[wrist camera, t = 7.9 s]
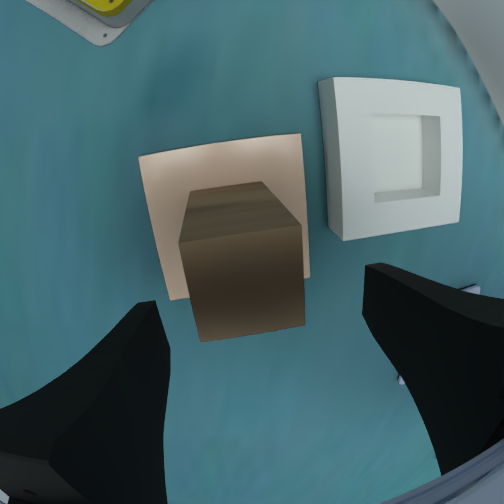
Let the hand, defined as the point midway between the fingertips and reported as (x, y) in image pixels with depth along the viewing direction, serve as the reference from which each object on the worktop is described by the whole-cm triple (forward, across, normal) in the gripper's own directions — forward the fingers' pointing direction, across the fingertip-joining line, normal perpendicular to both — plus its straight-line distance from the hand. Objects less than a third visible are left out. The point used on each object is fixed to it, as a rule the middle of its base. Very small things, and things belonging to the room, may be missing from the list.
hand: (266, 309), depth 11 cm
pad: (+9, 0, 0) cm, 9 cm away
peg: (+9, 0, 0) cm, 9 cm away
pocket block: (+9, -10, -3) cm, 14 cm away
